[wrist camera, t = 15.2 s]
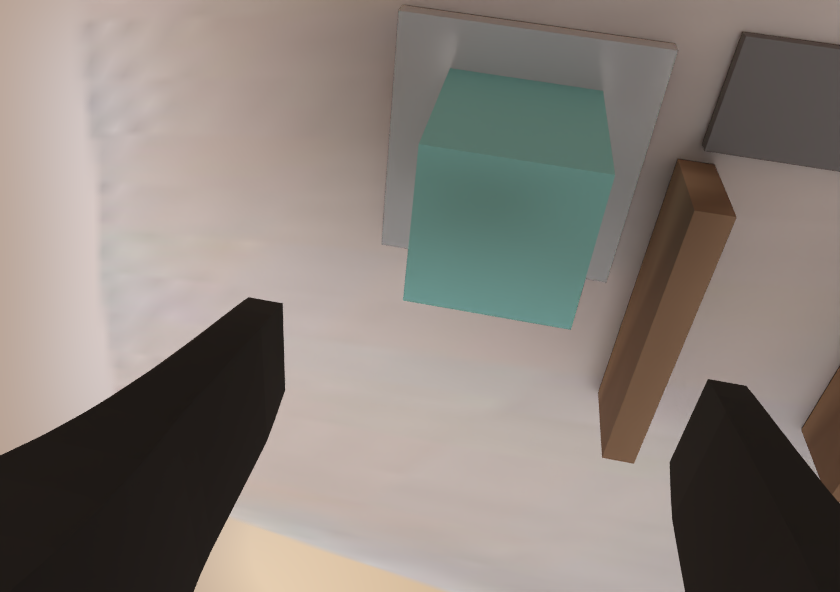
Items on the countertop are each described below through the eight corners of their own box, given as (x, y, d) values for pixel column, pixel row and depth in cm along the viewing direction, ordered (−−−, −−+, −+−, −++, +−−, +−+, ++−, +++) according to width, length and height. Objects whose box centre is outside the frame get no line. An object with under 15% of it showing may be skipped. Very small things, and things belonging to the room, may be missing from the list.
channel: (980, 205, 19) (1041, 265, 16) (830, 435, 24) (861, 506, 22) (677, 158, 19) (694, 210, 17) (598, 392, 25) (602, 457, 22)
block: (602, 90, 18) (615, 175, 14) (568, 224, 20) (570, 329, 16) (449, 68, 18) (418, 144, 14) (433, 202, 21) (403, 300, 17)
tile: (675, 43, 18) (678, 50, 17) (605, 271, 22) (606, 282, 21) (402, 4, 18) (398, 10, 18) (385, 234, 22) (381, 244, 22)
